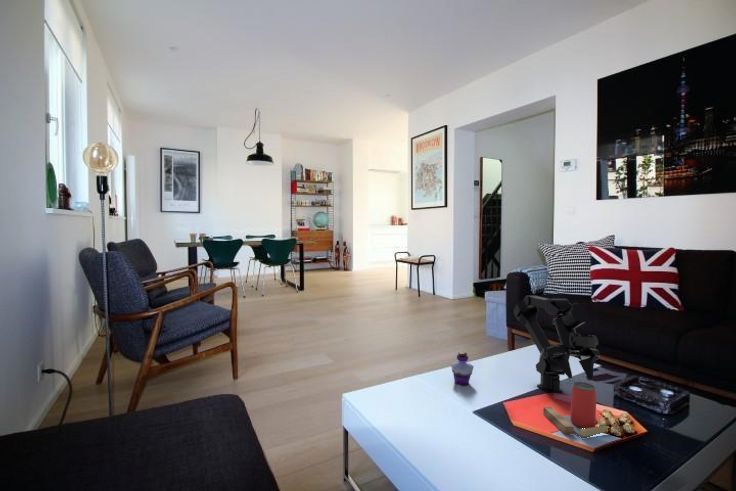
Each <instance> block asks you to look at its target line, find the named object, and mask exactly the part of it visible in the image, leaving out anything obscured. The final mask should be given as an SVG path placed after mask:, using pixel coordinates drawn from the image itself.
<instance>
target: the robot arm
mask: <svg viewBox="0 0 736 491" xmlns="http://www.w3.org/2000/svg"><path fill="white" fill-rule="evenodd" d="M539 309H543V310H545V312H546V313H547V314H549V315H550V316H551V315H553V316H554V315H555V316H554V317H553V319H552V320H551V325H555V330H556V332H557V335H558V336H556V340H557V341H559V342H560V344H554V345H551V342H550V341H549V340H548V338H547V336H546V334H545V333H544V331H543V329H542V328H541V326H540V324H539V322H538V320H537V318H538V313H539V312H540V310H539ZM556 315H557V316H556ZM513 316H514V317H515V319H516V320H517V321H518V323H520V324H522V325H523V326H525V328H526V330H527V331H528V333H529V336H530V337H531V339H532V341H533V343H534V344H535V346H536V348H537V350H538V353H540V354H539V359H538V360H539V361H538V362H537V363H536V364H535V370H536V372H537V373H539V374H540V383H539V384H536V386H537V387H538V388H539V389H542V390H543V391H544V392H546V393H547V394H552V393H553V392H554V393H562V392H563V389H562V388H560V387H561V379H560V377H561V376H565V375H566V377H567V378H568V379H572V378H573V372H572V369H571V364H570V357H571V356H573V357H574V356H575V357H577V358H578V359H579V360H578V363H579V364H580V366H581V368H582V369H583V371H584V373H585V375H586V377H587V378H588V380H589V381H593V380H594V367H595V366H594V365H595V362H596V361H597V360H599V358H600V357H602V356H601V353H600V350H598V349H596V348H597V346H598V345H599V343H600V342H599V339H598V337H597V335H595V334H593V335H592V334H589V335H588V336H582V335H581V333H580V332H579V333H578V332H577V331H576V328H578V327H580V326H581V325H583V324H585V323H586V322H588V321H589V319H590V314H589V312H588V311H587V310H586V308H584V307H582V306H580V304H579V303H571V302H570V301H569V299H567V298H547V297H543V296H538V295H536V294H535V295H530V294H529V295H525V296H524V298H522V300H520V301H519V302H518V303H517V304H516V305H515V307H514V309H513Z"/></svg>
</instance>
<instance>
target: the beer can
mask: <svg viewBox="0 0 736 491" xmlns="http://www.w3.org/2000/svg"><path fill="white" fill-rule="evenodd" d="M570 399H571V400H570V415H571V418H570V419H571V422H572V423H573V424H575V425H576V426H578V427H581V428H592V427H595V421H596V419H597V418H596V416H597V414H596V413H597V412H596V411H597V392H596V388H595V386H594V385H592V384H591V383H588V382H581V381H576V382H574V383H573V386H572V388H571V398H570Z"/></svg>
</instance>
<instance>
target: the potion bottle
mask: <svg viewBox="0 0 736 491" xmlns="http://www.w3.org/2000/svg"><path fill="white" fill-rule="evenodd" d="M456 360H458V361H454V362H452V363H451V364H450V367H451V372H452V375H453V380H454V384H456V385H457V386H462V387H464V386H468V385H469V384H470V380H471V377H472V375H473V370H474V365H473V364H471V363H470V362H467V361H468V360H469V356H468V352H465V351H458V354H457V355H456Z"/></svg>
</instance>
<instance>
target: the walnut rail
mask: <svg viewBox="0 0 736 491" xmlns="http://www.w3.org/2000/svg"><path fill="white" fill-rule="evenodd" d="M542 410H543V411H542V414H543V416H544V417H545V418H547V419H548V420H549V422H551V423H552V424H553V425H554V426H555V428H557V429H558V430H559V429H560V430H561V431H562V432H563V433H562V432H561V431H560V430H559V431H560V432H561V433H562V434H563V435H565V436H571V435H570V434H574V426H572V425H571V424H570V423H569V422H568V421H567V420H566V419H564V418H563V417H562V416H563V415H561V414H560V413H559V412H558V411H557V410H556V409H555V408H553V407H552V406H543V409H542ZM574 435H575V434H574Z"/></svg>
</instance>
